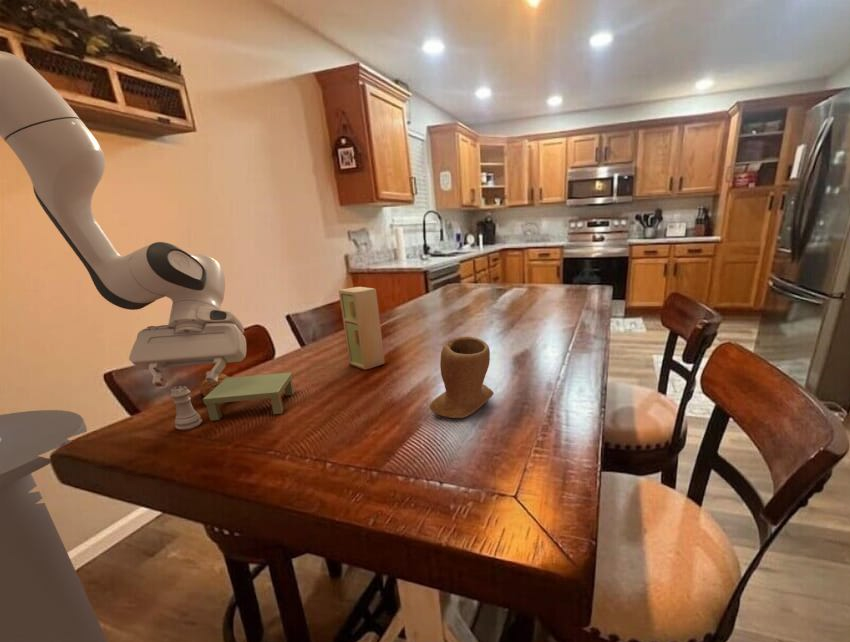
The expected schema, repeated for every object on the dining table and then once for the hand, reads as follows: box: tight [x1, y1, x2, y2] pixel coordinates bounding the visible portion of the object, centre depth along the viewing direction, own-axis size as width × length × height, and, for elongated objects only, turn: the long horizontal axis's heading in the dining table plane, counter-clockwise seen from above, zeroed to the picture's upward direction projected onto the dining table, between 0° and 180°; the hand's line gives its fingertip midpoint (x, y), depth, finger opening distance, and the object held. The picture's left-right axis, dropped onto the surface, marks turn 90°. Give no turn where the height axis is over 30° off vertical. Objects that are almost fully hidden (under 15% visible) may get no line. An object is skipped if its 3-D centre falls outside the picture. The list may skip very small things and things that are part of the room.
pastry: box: [199, 373, 230, 398], centre depth 95 cm, size 9×7×4 cm
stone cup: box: [428, 336, 495, 419], centre depth 83 cm, size 15×12×15 cm
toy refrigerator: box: [338, 286, 386, 371], centre depth 110 cm, size 8×7×21 cm
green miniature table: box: [202, 371, 295, 422], centre depth 88 cm, size 14×12×5 cm
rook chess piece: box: [169, 385, 203, 431], centre depth 79 cm, size 4×4×8 cm
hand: (185, 383), depth 80 cm, fingers open, 8 cm apart
